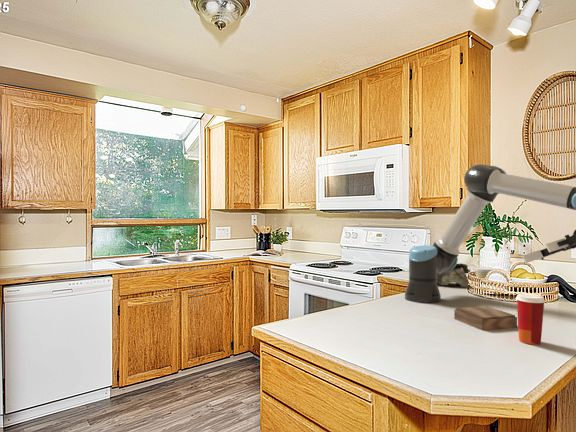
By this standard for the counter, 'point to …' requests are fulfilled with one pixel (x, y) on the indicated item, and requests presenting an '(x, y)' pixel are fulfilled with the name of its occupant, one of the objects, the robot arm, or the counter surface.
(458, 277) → the hollow geode rock
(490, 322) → the walnut plinth
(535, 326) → the paper cup
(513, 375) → the counter surface
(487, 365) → the counter surface
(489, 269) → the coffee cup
